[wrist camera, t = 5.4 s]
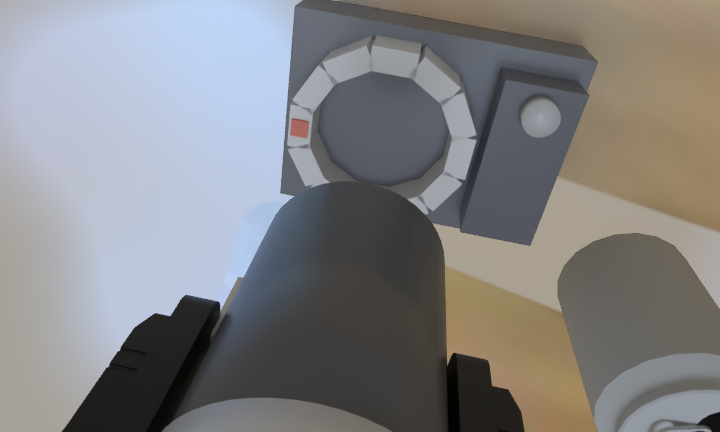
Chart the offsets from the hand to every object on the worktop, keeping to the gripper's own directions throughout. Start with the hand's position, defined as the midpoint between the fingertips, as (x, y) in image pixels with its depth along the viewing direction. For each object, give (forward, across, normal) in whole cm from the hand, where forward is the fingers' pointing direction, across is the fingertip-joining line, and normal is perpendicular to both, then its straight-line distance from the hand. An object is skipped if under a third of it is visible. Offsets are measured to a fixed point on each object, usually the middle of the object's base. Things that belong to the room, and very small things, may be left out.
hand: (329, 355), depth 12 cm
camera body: (+20, -2, +1) cm, 20 cm away
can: (+20, -16, +9) cm, 27 cm away
